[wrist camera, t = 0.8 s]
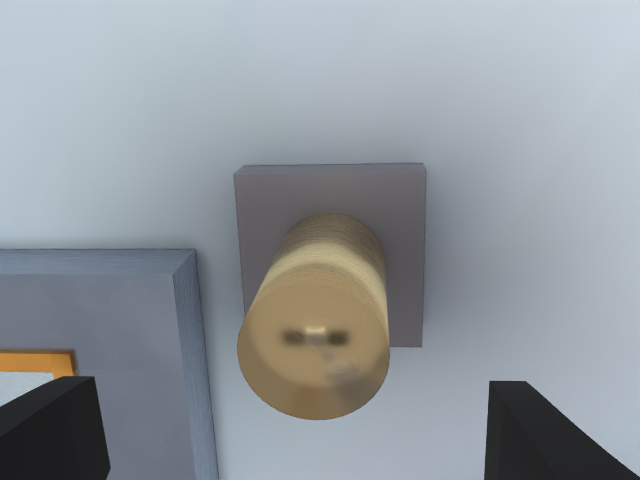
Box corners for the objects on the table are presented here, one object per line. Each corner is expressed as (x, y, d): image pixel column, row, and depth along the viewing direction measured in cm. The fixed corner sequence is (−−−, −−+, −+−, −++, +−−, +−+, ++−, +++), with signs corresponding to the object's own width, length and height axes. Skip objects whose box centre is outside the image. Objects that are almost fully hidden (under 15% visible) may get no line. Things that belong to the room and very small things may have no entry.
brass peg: (384, 313, 19) (389, 421, 14) (280, 312, 20) (243, 418, 14) (385, 211, 18) (390, 283, 13) (275, 212, 19) (231, 283, 13)
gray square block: (418, 327, 21) (422, 347, 20) (255, 325, 22) (247, 344, 20) (422, 163, 19) (426, 171, 18) (243, 165, 20) (233, 174, 18)
